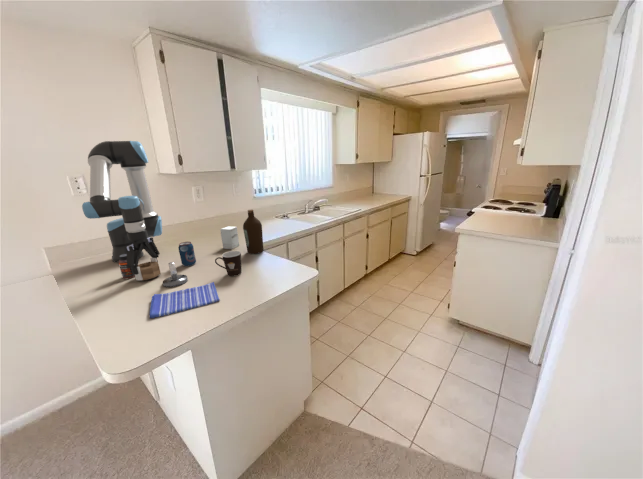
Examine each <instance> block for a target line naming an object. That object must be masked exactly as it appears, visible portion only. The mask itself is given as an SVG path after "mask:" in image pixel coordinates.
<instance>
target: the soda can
mask: <svg viewBox="0 0 643 479" xmlns="http://www.w3.org/2000/svg"><path fill="white" fill-rule="evenodd" d="M178 252H179V257H180V262H181V265H182V266H183V267H186V266H187V267H192V266H194V265H195V264H196V262H197V259H196V254H195V249H194V245H193V243H192V242H191V241H183V242H180V243H179V244H178Z"/></svg>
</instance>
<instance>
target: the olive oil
mask: <svg viewBox="0 0 643 479" xmlns="http://www.w3.org/2000/svg"><path fill="white" fill-rule="evenodd" d="M242 230H243V235H244V240H245V244H246V252H247V254H250V255H257V254H261V253H263V252H264V239H263V225H262V222H261V221H260V220H259V219H258V218H257V217H256V216H255V212H254V209H248V210H247V218H246V219H245V221H244V222H243V225H242Z"/></svg>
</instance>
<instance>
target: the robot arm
mask: <svg viewBox="0 0 643 479" xmlns="http://www.w3.org/2000/svg"><path fill="white" fill-rule="evenodd" d="M145 150H146V149H145V148H144V146H143V144H142V142H140V141H138V140H122V141H121V140H116V141H115V140H113V141H112V140H111V141H110V140H109V141H108V140H107V141H106V140H105V141H102V142H99V143H97V144H96V145H95V146H94V147H92V148H91V149H90V151H89V153H88V155H87V164H88V166H90V169H89V170H90V173H89V176H90V177H89V184H90V185H89V201H86V202H83V203H82V206H81V208H82V212H83V214H84V216H85V218H87V219H89V220H90V219H102V218H109V217H111V218H112V217H119V216H122V217H121V218H117V219H114V220H110V221H108V222H107V223H106V230H107V233H108V236H109V241H110V243H111V246H112V256H111V260H112V262H114V263H118V262H119V260H120V257H119V256H120V255H123V254H127V268H132V270H133V274H134V275H135V277H134V278H135V281H144V280H143V278H142V275H141V271H140V267H138V265H139V260H140V259H141V257H143V256H144V251H145V252H146V253H147V254H148V255H149V256H150V262H158V263H159V261H158V258H159V256H160V251H159V249H158V247H157V245H156V244H155V241H154V237H158V236H161V235H162V234H163V221H162V220H163V219H162V216H161V215H158V212H156V211H155V209H154V206H153V202H152V198H151V194H150V190H149V184H148V182H147V178H146V176H147V175H146V174H145V169H146V167H147V164H148V163H149V160H148V156H147V153H146V151H145ZM113 165H120V168H121V169H123V171H125V174H126V178H127V182H128V186H129V189H130V193H131V195H125V196H119V197H118V198H117V199H112V194H111V190H112V189H111V169H112V167H113ZM143 250H144V251H143ZM134 264H135V265H134Z"/></svg>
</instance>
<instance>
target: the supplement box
mask: <svg viewBox="0 0 643 479" xmlns="http://www.w3.org/2000/svg"><path fill="white" fill-rule="evenodd" d="M219 230H220V238H221V243H222V248H223V249H227V250H234V249H236V248H237V247H238V246H240V242H239V233H238V227H237V226H226V227H222V228H220V229H219Z"/></svg>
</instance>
